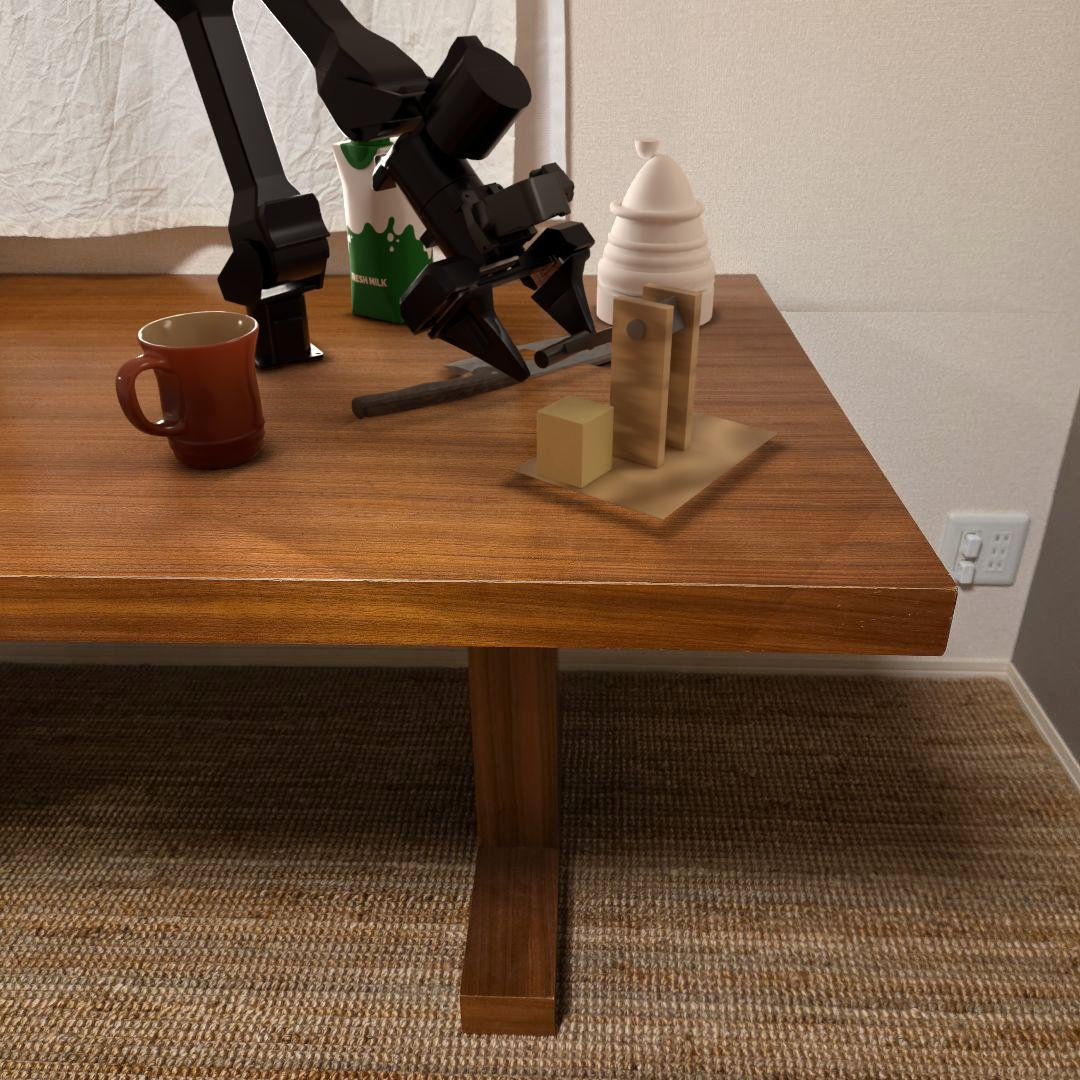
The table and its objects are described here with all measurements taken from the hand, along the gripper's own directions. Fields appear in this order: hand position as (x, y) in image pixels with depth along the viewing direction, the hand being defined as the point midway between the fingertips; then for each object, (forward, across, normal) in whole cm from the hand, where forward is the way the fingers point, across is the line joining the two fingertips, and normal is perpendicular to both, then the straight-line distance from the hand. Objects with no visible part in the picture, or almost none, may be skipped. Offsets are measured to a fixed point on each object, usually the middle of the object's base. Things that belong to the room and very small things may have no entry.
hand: (561, 362), depth 79 cm
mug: (-9, -20, +19) cm, 29 cm away
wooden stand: (+10, 0, -1) cm, 11 cm away
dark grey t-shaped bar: (+2, 0, -5) cm, 6 cm away
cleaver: (-4, +7, +14) cm, 16 cm away
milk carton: (-20, +18, +30) cm, 40 cm away
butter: (+8, -6, 0) cm, 10 cm away
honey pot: (-4, +34, +13) cm, 37 cm away
